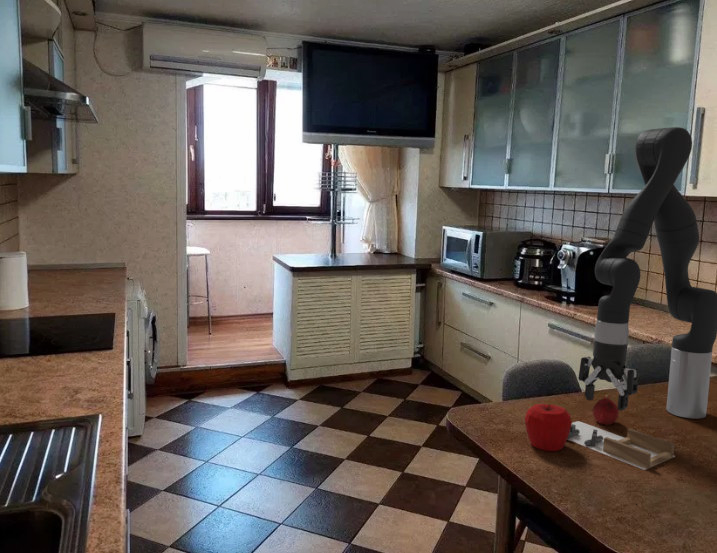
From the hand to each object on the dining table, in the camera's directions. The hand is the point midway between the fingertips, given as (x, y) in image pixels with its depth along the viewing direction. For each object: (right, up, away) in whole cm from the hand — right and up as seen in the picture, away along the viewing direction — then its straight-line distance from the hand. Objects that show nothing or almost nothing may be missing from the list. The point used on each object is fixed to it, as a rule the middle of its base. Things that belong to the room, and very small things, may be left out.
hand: (605, 404), depth 148 cm
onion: (0, -6, +1) cm, 6 cm away
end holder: (0, -7, -18) cm, 19 cm away
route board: (-5, -7, -12) cm, 15 cm away
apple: (-18, -8, -13) cm, 24 cm away
